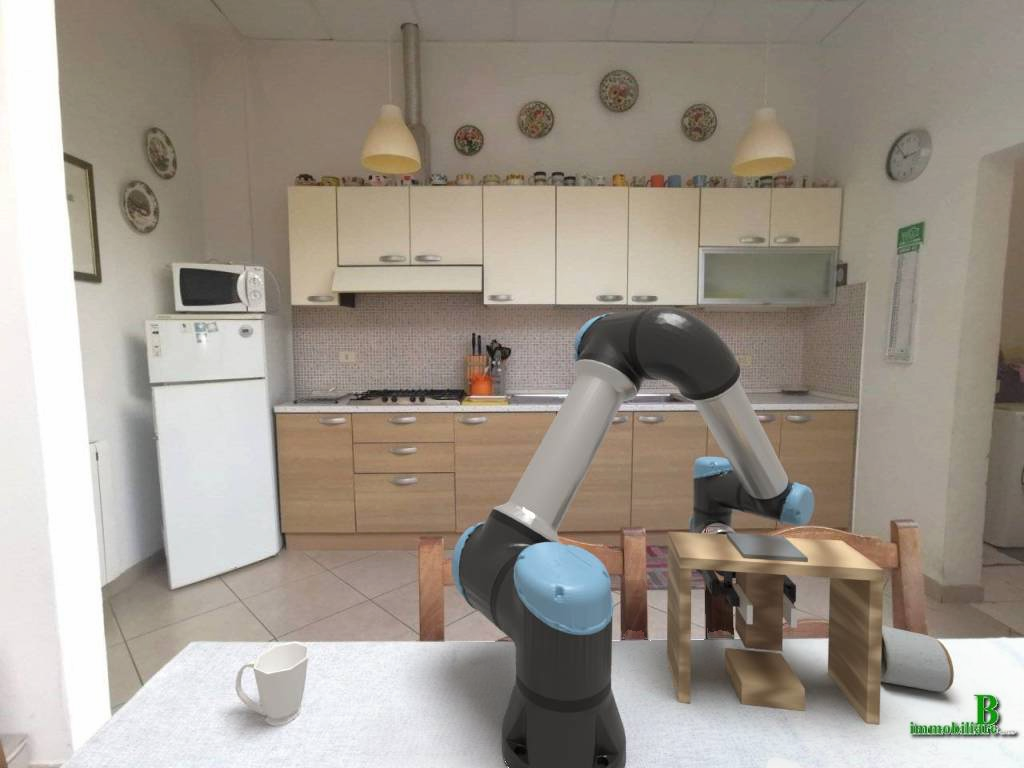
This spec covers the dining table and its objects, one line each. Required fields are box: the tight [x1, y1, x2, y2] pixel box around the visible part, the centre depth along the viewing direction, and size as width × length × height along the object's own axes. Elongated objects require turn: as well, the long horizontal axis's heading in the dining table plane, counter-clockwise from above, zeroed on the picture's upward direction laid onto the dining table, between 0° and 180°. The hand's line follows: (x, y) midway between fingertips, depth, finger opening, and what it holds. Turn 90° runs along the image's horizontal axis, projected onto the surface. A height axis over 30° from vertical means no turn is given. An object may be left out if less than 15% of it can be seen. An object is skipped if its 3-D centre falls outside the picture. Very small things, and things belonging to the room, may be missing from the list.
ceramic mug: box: [881, 625, 955, 692], centre depth 69 cm, size 11×8×8 cm
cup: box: [234, 640, 311, 728], centre depth 62 cm, size 7×10×8 cm
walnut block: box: [734, 572, 784, 652], centre depth 70 cm, size 5×5×12 cm
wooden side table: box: [666, 531, 885, 725], centre depth 67 cm, size 25×10×21 cm, turn 80°
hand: (771, 616), depth 65 cm, fingers closed on walnut block, 5 cm apart
